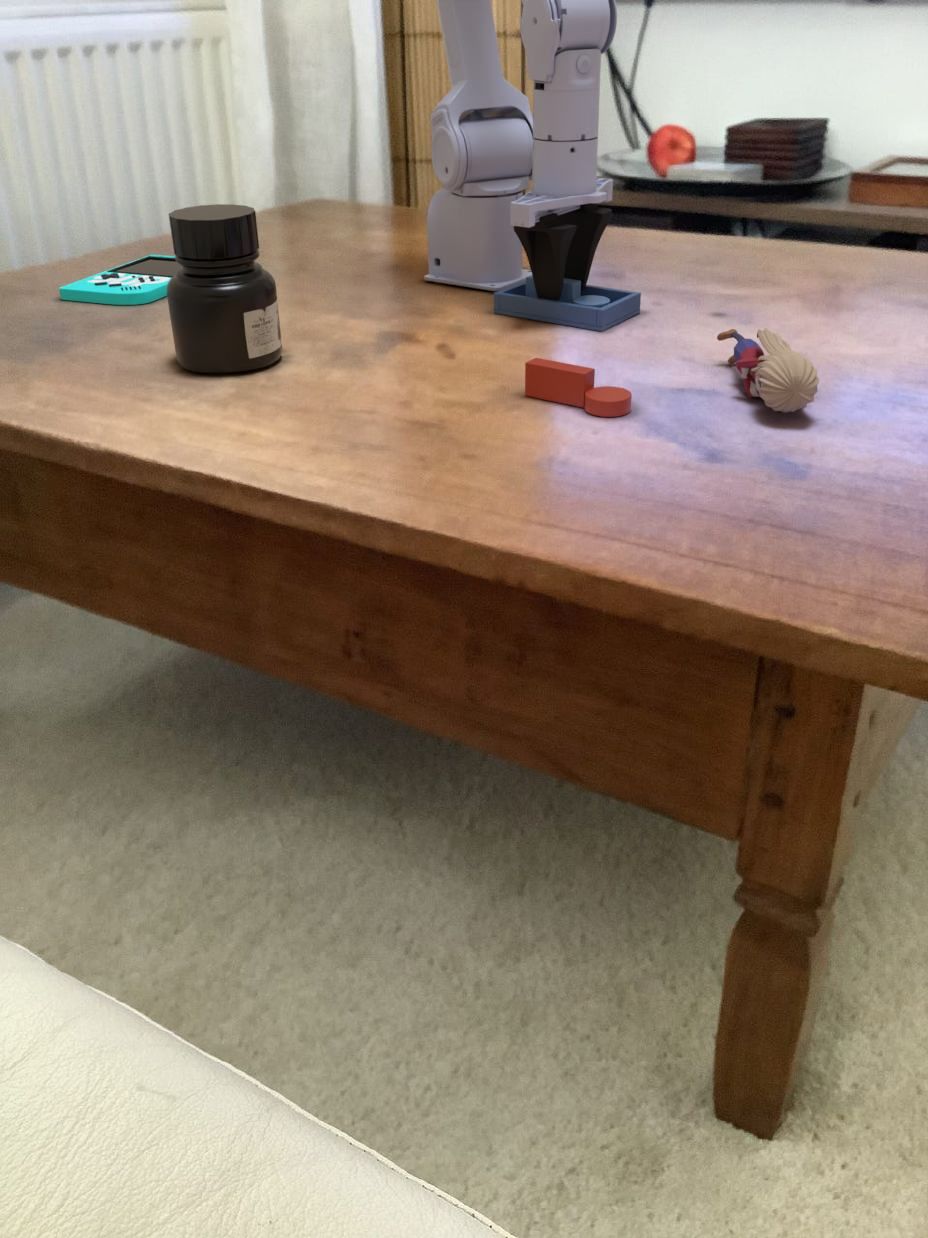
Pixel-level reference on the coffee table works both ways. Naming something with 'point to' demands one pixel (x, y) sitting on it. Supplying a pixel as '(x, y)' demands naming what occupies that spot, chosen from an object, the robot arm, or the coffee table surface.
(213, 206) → the ink bottle
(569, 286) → the blue block with disc
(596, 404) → the red block with disc
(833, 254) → the coffee table surface
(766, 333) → the figurine
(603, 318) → the blue tray
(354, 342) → the coffee table surface
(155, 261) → the handheld game console
